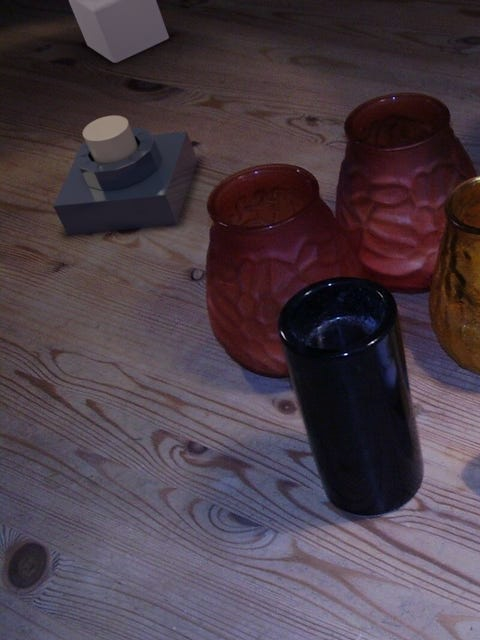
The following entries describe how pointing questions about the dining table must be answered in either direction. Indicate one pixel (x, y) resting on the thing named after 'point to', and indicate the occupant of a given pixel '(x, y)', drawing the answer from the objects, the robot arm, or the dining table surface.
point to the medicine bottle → (119, 26)
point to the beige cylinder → (110, 139)
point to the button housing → (128, 186)
